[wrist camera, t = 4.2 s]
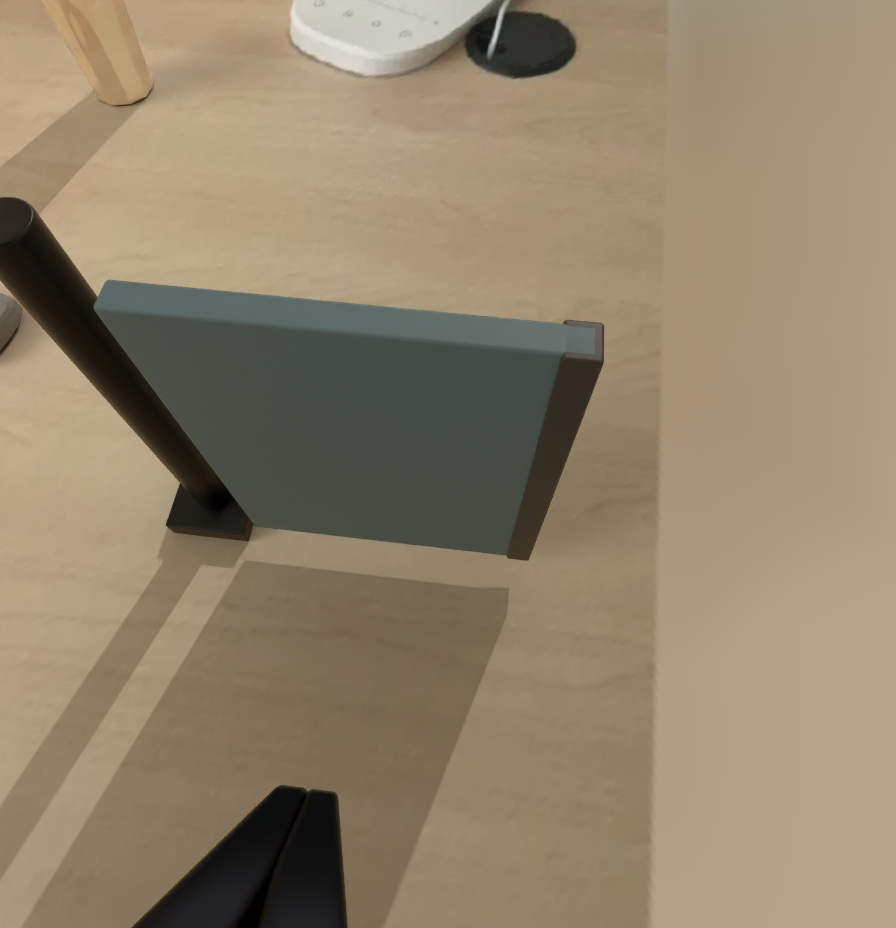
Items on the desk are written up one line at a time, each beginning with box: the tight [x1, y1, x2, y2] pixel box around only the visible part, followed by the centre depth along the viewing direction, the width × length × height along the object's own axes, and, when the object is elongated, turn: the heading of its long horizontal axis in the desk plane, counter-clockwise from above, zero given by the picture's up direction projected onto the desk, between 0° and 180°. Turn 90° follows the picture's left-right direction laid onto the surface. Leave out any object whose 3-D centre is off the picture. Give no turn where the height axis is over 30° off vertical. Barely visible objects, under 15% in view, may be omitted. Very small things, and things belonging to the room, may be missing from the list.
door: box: [94, 280, 604, 561], centre depth 18 cm, size 1×10×12 cm, turn 83°
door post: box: [0, 197, 253, 541], centre depth 19 cm, size 3×3×14 cm
